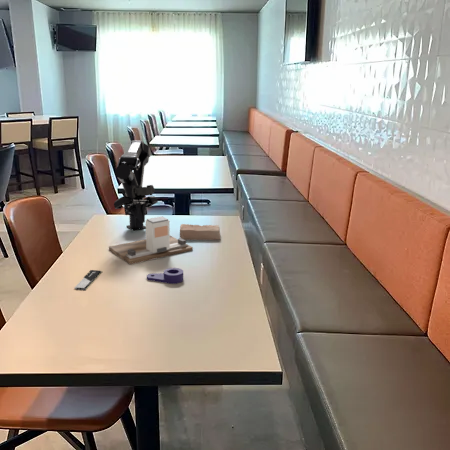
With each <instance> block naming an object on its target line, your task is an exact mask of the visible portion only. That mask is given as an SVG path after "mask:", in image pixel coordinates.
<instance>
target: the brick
mask: <svg viewBox="0 0 450 450" xmlns="http://www.w3.org/2000/svg"><path fill="white" fill-rule="evenodd" d="M220 229H221V228H220V225H219V224H216V225H215V224H213V225H212V224H206V225H205V224H204V225H199V224H189V223H188V224H187V223H181V224H180V226H179V239H181V238H182V239H184V240H186V241H187V240H190V241H191V240H192V241H197V240H198V241H201V240H202V241H203V240H204V241H205V240H206V241H207V240H210V241H211V240H217V241H219V240H221V232H220Z"/></svg>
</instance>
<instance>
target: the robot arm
mask: <svg viewBox="0 0 450 450" xmlns="http://www.w3.org/2000/svg"><path fill="white" fill-rule="evenodd" d="M151 151H152V150H151V148H150V146H149V144H146V143H145V142H144V141H143V140H131V141H130V145H129V148H128V151H127V152H125V153H123V154H122V155H120V157H119V159H118V162H117V165H116V168H115V171H114V172H115V176H116V177H117V179H118V180H119V181H120V183H121V184H122V187H123V190H122V194H124V195H125V196H120V197H119V198H118V199H116V200H114V203H113V206H114V209H115V210H121V209H122V208H124V215H125V216H129V218H128V219H129V225H126V228H128V229H130V230H132V231H138V230H143V229H146V225H144V223H146V216H147V215H148V208H150V207H153V206H155V205H156V204H158V202H159V201H158V198H157V197H156V196H153V194H154V193H155V187H154V185H153V184H148V185H146V186H144V187H143V182H144V173H145V166H146V165H148V163H149V162H150V161H149V160H150V157H151V156H152V155H151V153H152V152H151ZM146 196H147V197H146Z"/></svg>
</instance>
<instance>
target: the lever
mask: <svg viewBox="0 0 450 450" xmlns="http://www.w3.org/2000/svg"><path fill="white" fill-rule="evenodd" d="M146 280H147V281H150V282H156V283H164V284H170V285H171V284H172V285H174V284H180V283H182V282H183V281H184V270H183V269H182V268H180V267H169V268H166V269H164V270H163V272H158V273H156V272H155V273H154V272H153V273H148V274H146Z"/></svg>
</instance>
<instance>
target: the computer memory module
mask: <svg viewBox="0 0 450 450" xmlns="http://www.w3.org/2000/svg"><path fill="white" fill-rule="evenodd" d="M102 273H103V271H102V270H98V269H97V270H95V269H90V270H89V271H88V272H87V273H86V274H85V275H84V277H83V279H81V280H80V281H79V282H78V283H77V284H76V285H75V286H74V289H73V290H76V291H87V290H88V288H90V286H92V284H93V283H94V282H95V281H96V280H97V279H98V278H99V276H101V274H102Z"/></svg>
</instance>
